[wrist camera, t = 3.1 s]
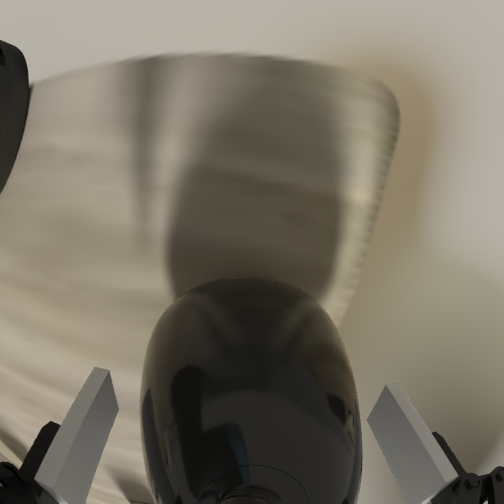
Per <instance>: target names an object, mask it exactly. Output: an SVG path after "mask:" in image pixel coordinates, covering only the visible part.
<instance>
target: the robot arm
mask: <svg viewBox="0 0 504 504" xmlns="http://www.w3.org/2000/svg"><path fill="white" fill-rule="evenodd" d="M28 88H29V80H28V68H27V64H26V60H25V58H24V55H23V53H22V52H21V51H20V50H19V49H18V48H17V47H15V46H13V45H11V44H9V43H6V42H4V41H1V40H0V193H1V192H2V190H3V188H4V186H5V183H6V181H7V179H8V177H9V174H10V171H11V169H12V166H13V163H14V160H15V157H16V154H17V150H18V147H19V143H20V140H21V135H22V131H23V126H24V121H25V116H26V110H27V102H28ZM118 410H119V408H118V404H117V400H116V397H115V393H114V388H113V384H112V380H111V375H110V371H109V370H106V369H102V368H98V367H94V369H93V371H92V372H91V374H90V375H89V377H88V379H87V380H86V382H85V384H84V385H83V387H82V389H81V391H80V392H79V394H78V396H77V397H76V399H75V401H74V403H73V404H72V406H71V408H70V410H69V412H68V413H67V415H66V417H65V419H64V421H63V422H62V424H61V425H59V424H57V423H54V422H52V421H50V422H49V423H47V424H46V425H45V426H43V427H42V429H41V430H40V432H39V434H38V436H37V438H36V439H35V441H34V443H33V445H32V447H31V448H30V450H29V452H28V454H27V456H26V458H25V460H24V462H23V464H22V466H21V468H20V469H19V470H18V469H17V468H16V467H15V466H14V465H13V464H11V463H9V462H0V504H85V502H86V499H87V496H88V493H89V490H90V486H91V483H92V480H93V477H94V475H95V472H96V469H97V466H98V463H99V460H100V457H101V455H102V452H103V449H104V447H105V444H106V441H107V439H108V436H109V433H110V431H111V428H112V426H113V423H114V420H115V418H116V415H117V413H118ZM367 421H368V423H369V425H370V427H371V429H372V431H373V433H374V435H375V438H376V440H377V442H378V444H379V446H380V448H381V450H382V452H383V454H384V456H385V458H386V460H387V463H388V465H389V467H390V469H391V471H392V473H393V475H394V477H395V479H396V482H397V484H398V486H399V488H400V490H401V493H402V495H403V497H404V499H405V501H406V503H407V504H426V503H428V502H429V501H430V500H431V502H432V503H431V504H483V503H484V502H485V501H487V500H488V504H504V467H501V466H498V467H496V468H495V469H494V470H493V471H492V472H491V473H490V474H486V475H481V476H478V475H476V474H474V473H466V472H465V470H464V469H463V467H462V466H461V464H460V463H459V461H458V460H457V458H456V456H455V455H454V453H453V452H451V449H450V447H449V446H447V445H448V444H447V443H446V441H445V440H444V438H443V437H442V436H441V435H439V434H438V433H437V432H433V433H431V432H430V430H429V429H428V427H427V426H426V424H425V423H424V421H423V420H422V418H421V417H420V415H419V414H418V412H417V411H416V409H415V408H414V406H413V405H412V403H411V402H410V400H409V399H408V397H407V396H406V395H405V393H404V392H403V390H402V389H401V387H400V386H399V385H398V383H394V384H386V385H385V387H384V389H383V391H382V393H381V395H380V397H379V399H378V401H377V403H376V404H375V406H374V408H373V410H372V412H371V413H370V415H369V417H368V419H367Z"/></svg>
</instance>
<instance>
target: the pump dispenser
mask: <svg viewBox="0 0 504 504" xmlns="http://www.w3.org/2000/svg"><path fill="white" fill-rule="evenodd" d="M360 421H361V420H360V411H359V403H358V397H357V391H356V386H355V381H354V377H353V374H352V370H351V366H350V363H349V360H348V356H347V353H346V350H345V347H344V344H343V342H342V339H341V337H340V334H339V332H338V330H337V328H336V326H335V324H334V322H333V321H332V319H331V318H330V316H329V315H328V313H327V312H326V311H325V309H324V308H323V307H322V306H321V305H320V304H319V303H318V302H317V301H316V300H315V299H314V298H312V297H311V296H310V295H308V294H307V293H305V292H304V291H302V290H300V289H298V288H296V287H294V286H292V285H289V284H286V283H283V282H280V281H277V280H272V279H267V278H260V277H232V278H226V279H221V280H217V281H213V282H210V283H207V284H204V285H201V286H199V287H197V288H195V289H192V290H191V291H189V292H187V293H185V294H184V295H182V296H181V297H180V298H178V299H177V300H176V301H175V302H173V303H172V304H171V305H170V306H169V307H168V308H167V309H166V310H165V312H164V313H163V314H162V316H161V317H160V319H159V320H158V322H157V324H156V326H155V328H154V330H153V332H152V335H151V337H150V340H149V343H148V346H147V350H146V355H145V360H144V366H143V373H142V381H141V390H140V430H141V441H142V450H143V458H144V465H145V470H146V475H147V480H148V484H149V488H150V491H151V494H152V497H153V500H154V503H155V504H357V501H358V497H359V491H360V484H361V476H362V459H363V456H362V433H361V422H360Z"/></svg>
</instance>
